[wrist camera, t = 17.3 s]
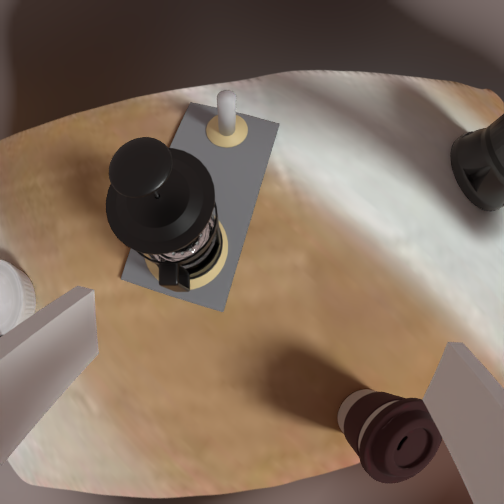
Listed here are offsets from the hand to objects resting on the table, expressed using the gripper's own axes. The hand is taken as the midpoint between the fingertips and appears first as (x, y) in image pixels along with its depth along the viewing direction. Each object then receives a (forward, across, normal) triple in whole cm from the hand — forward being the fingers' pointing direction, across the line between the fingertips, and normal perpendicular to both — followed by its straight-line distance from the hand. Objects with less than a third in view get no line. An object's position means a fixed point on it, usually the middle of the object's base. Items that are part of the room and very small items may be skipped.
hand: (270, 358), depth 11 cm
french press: (+30, -11, -5) cm, 32 cm away
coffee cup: (+24, +16, -23) cm, 37 cm away
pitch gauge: (+34, -10, +2) cm, 35 cm away
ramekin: (+24, -37, -16) cm, 46 cm away
